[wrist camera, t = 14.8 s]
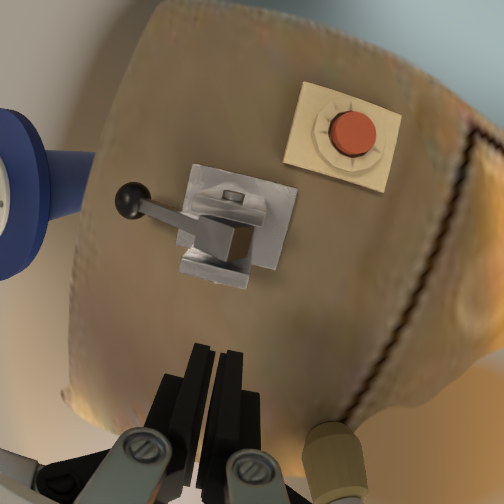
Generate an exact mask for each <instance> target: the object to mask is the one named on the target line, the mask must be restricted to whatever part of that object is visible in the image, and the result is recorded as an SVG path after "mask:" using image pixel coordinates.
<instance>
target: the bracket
mask: <svg viewBox="0 0 504 504" xmlns="http://www.w3.org/2000/svg"><path fill="white" fill-rule="evenodd" d="M297 192H298V189H297V188H294V187H291V186H287V185H283V184H280V183H276V182H272V181H268V180H264V179H260V178H256V177H252V176H248V175H244V174H240V173H235V172H231V171H227V170H223V169H218V168H214V167H209V166H205V165H200V164H195V163H193V164H192V167H191V172H190V176H189V180H188V185H187V189H186V194H185V199H184V203H183V208H182V211H184V212H187V213H189V214H192V215H195V216H197V217H199V216H200V215H213V216H217V217H221V218H225V219H229V220H234V221H238V222H242V223H246V224H249V225H252V226H254V227H255V228H254V232H253V236H252V239H251V243H250V247H249V251H248V255H247V258H243V259H239V260H234V261H229V262H225V261H222V260H220V259H218V258H216V257H214V256H211V255H209V254H207V253H205V252H203V251H200V250H198V249H196V248H194V247H193V245H194V240H195V235H193V234H190V233H188V232H185V231H183V230H181V229H178V233H177V238H176V243H175V245H177V246H181V247H185V248H189V250H188V251H187V252H186V253H185V254H184V255H183V256H182V257H181V259H180V265H179V270H178V272H179V273H183V274H186V275H190V276H194V277H198V278H202V279H206V280H208V281H210V282H213V283H222V284H226V285H230V286H234V287H238V288H242V289H247V286H248V282H249V278H250V271H251V264H253V265H257V266H262V267H266V268H270V269H274V270H276V268H277V264H278V261H279V257H280V254H281V250H282V246H283V243H284V239H285V236H286V232H287V228H288V225H289V221H290V218H291V214H292V210H293V206H294V203H295V199H296V195H297Z"/></svg>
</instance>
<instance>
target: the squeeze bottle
mask: <svg viewBox="0 0 504 504" xmlns="http://www.w3.org/2000/svg"><path fill="white" fill-rule="evenodd" d="M302 462H303V466H304V470H305V474H306V477H307V481H308V485H309V489H310V493H311V497H312V500H313V504H363V500H364V499H365V498H366V497H367V495H368V486H367V478H366V471H365V465H364V458H363V453H362V446H361V443H360V441H359V439H358V438H357V437H356V436H355V435H354V434H353V432H352V431H351V430H350V429H349V428H348V427H347V426H346V425H344V424H343V423H340V422H326V423H323V424H320V425H318V426H316V427H315V428H313V429H312V430H311V431H310V433H309V434H308V436H307V439H306V442H305V446H304V449H303V452H302Z"/></svg>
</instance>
